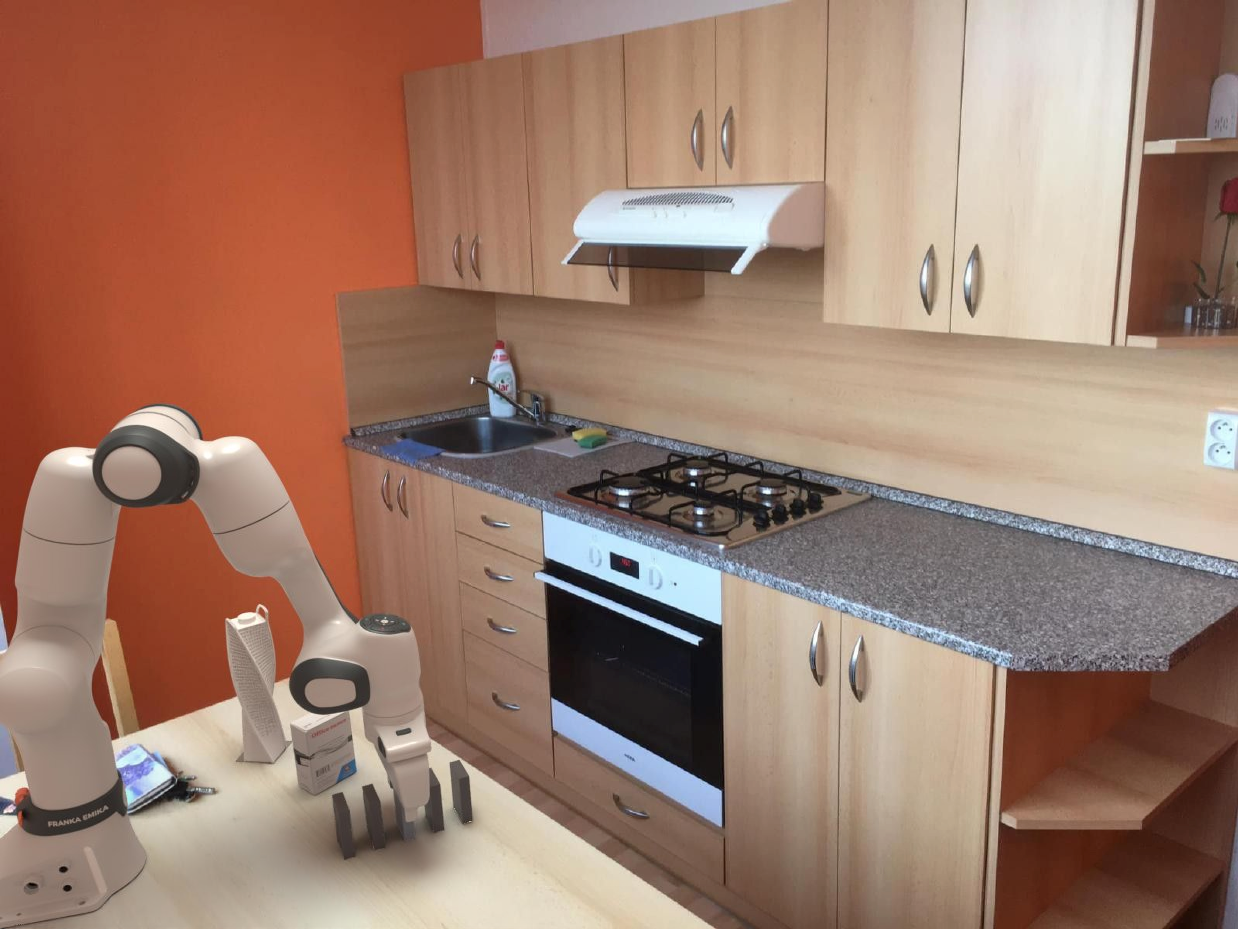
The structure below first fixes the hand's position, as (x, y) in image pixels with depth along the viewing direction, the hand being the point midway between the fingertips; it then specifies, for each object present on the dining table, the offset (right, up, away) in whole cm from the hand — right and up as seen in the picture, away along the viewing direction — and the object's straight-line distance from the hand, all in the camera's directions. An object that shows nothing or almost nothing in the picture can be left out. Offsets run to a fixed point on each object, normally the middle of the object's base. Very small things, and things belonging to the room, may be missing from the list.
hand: (402, 802), depth 156 cm
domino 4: (+4, -4, +3) cm, 7 cm away
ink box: (-16, -1, +16) cm, 22 cm away
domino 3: (0, -5, +1) cm, 5 cm away
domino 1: (-8, -6, -2) cm, 10 cm away
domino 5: (+8, -4, +5) cm, 10 cm away
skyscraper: (-29, 0, +24) cm, 37 cm away
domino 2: (-4, -6, 0) cm, 7 cm away
